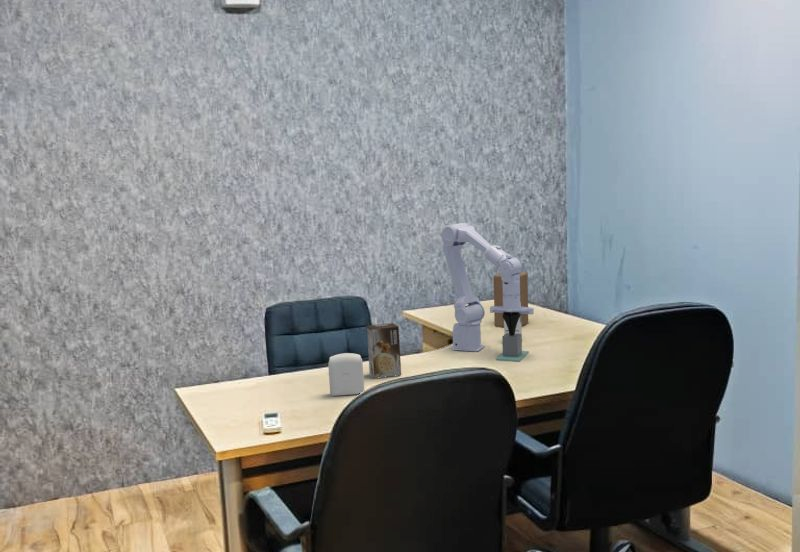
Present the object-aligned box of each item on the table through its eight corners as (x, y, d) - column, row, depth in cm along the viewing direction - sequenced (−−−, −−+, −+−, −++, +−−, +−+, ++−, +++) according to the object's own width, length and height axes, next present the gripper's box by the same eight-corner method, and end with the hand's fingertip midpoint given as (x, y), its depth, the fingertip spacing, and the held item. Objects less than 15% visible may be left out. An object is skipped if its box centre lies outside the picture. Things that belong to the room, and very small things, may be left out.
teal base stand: (496, 360, 313) (495, 342, 312) (505, 351, 323) (505, 334, 322) (519, 361, 310) (519, 343, 309) (528, 352, 320) (528, 335, 319)
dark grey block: (502, 356, 315) (502, 336, 314) (506, 352, 320) (506, 333, 318) (517, 357, 313) (517, 337, 312) (521, 353, 318) (521, 333, 316)
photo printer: (330, 397, 278) (327, 356, 276) (329, 393, 282) (327, 353, 280) (364, 394, 279) (362, 354, 277) (363, 390, 283) (362, 350, 281)
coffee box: (396, 371, 304) (394, 322, 301) (401, 376, 298) (399, 326, 295) (368, 374, 302) (366, 325, 299) (373, 379, 296) (371, 329, 293)
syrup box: (520, 344, 332) (520, 304, 330) (504, 344, 334) (503, 304, 331) (522, 340, 338) (521, 301, 335) (505, 340, 339) (504, 301, 337)
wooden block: (518, 329, 357) (517, 277, 353) (494, 326, 362) (493, 275, 358) (528, 323, 365) (528, 272, 362) (505, 321, 370) (504, 271, 367)
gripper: (486, 295, 312) (487, 335, 314) (529, 297, 307) (530, 338, 309) (492, 292, 319) (493, 331, 321) (535, 293, 313) (535, 333, 315)
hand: (512, 334), depth 315 cm, fingers closed
